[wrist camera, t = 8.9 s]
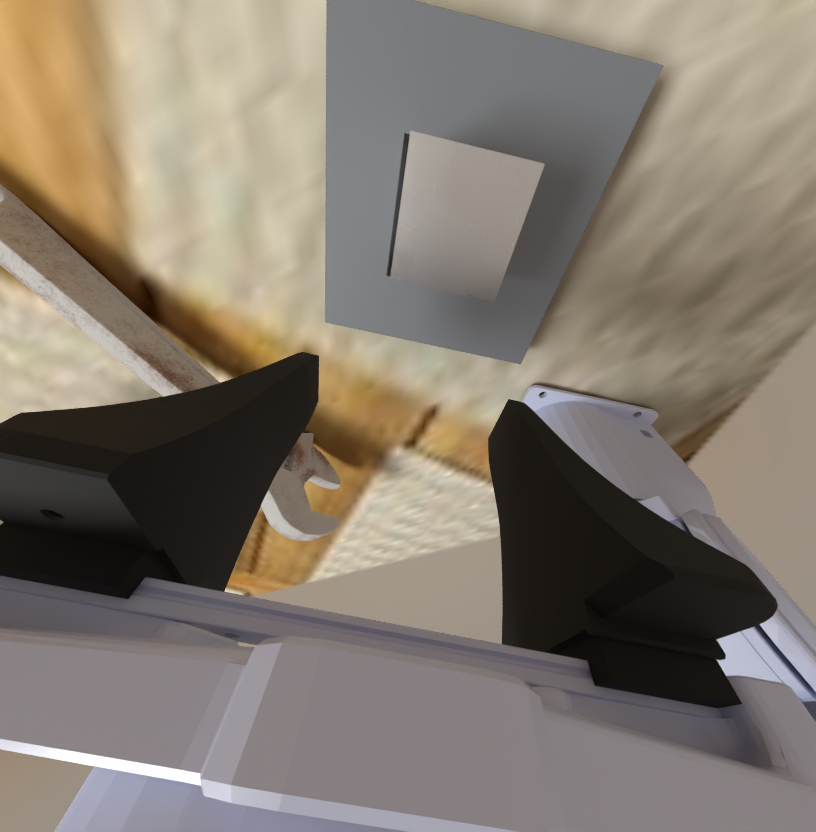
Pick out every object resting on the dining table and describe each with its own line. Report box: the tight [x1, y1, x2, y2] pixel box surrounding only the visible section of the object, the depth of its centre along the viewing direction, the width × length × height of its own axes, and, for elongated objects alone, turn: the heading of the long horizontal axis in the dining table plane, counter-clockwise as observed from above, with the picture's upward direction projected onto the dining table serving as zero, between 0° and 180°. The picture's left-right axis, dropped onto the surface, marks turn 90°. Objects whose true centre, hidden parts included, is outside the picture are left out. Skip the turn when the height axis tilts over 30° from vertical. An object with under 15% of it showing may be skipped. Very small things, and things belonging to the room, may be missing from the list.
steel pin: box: [390, 131, 545, 302], centre depth 12 cm, size 4×4×7 cm
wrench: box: [0, 184, 340, 541], centre depth 20 cm, size 8×2×30 cm
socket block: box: [325, 0, 663, 364], centre depth 14 cm, size 12×12×2 cm
